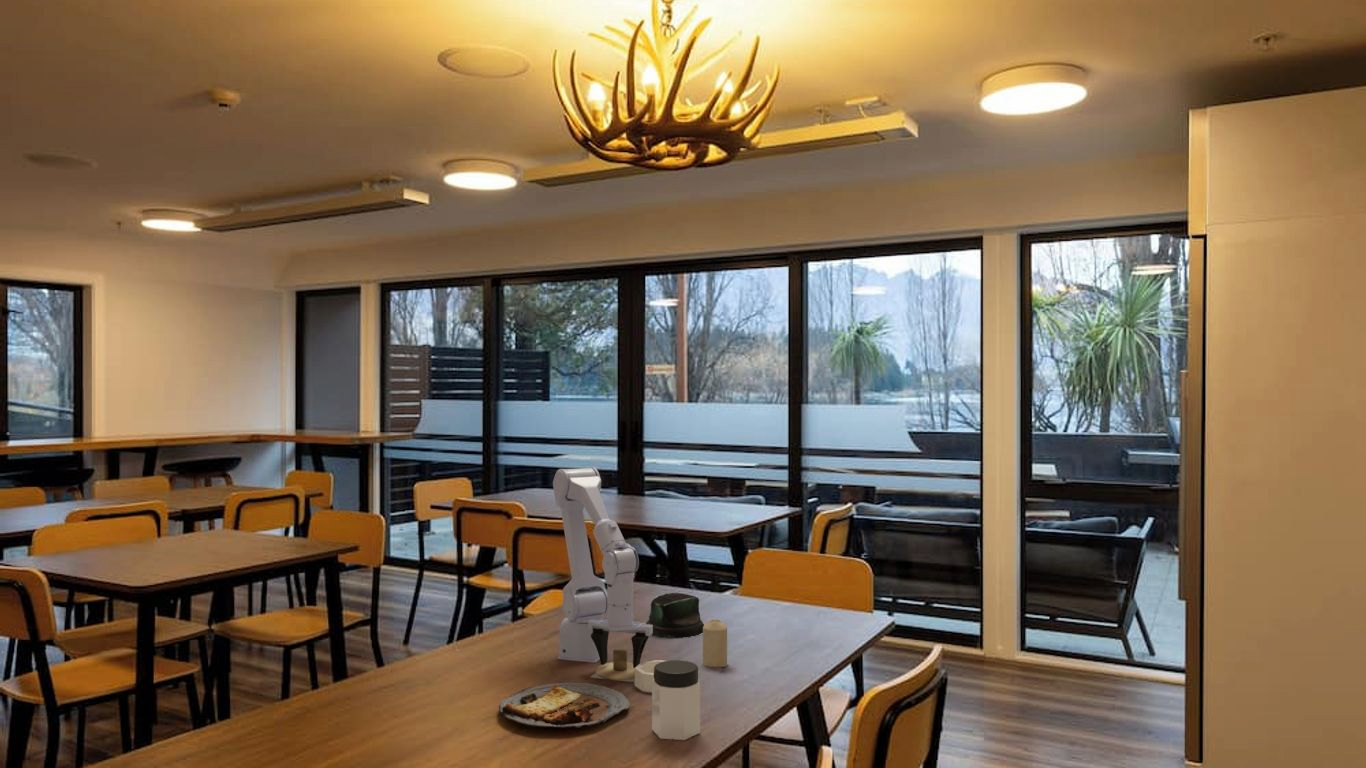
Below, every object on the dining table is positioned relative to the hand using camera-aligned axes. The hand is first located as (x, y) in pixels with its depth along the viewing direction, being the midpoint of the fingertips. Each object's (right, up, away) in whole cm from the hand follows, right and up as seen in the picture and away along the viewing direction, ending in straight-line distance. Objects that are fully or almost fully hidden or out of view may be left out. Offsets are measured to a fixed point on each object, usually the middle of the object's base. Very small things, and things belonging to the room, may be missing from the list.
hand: (620, 665), depth 203 cm
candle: (+21, -2, +7) cm, 22 cm away
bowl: (+9, -2, -8) cm, 12 cm away
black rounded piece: (+11, -3, +37) cm, 38 cm away
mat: (0, -2, 0) cm, 2 cm away
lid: (0, -2, 0) cm, 2 cm away
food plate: (-9, -3, -23) cm, 25 cm away
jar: (+13, -2, -33) cm, 36 cm away
